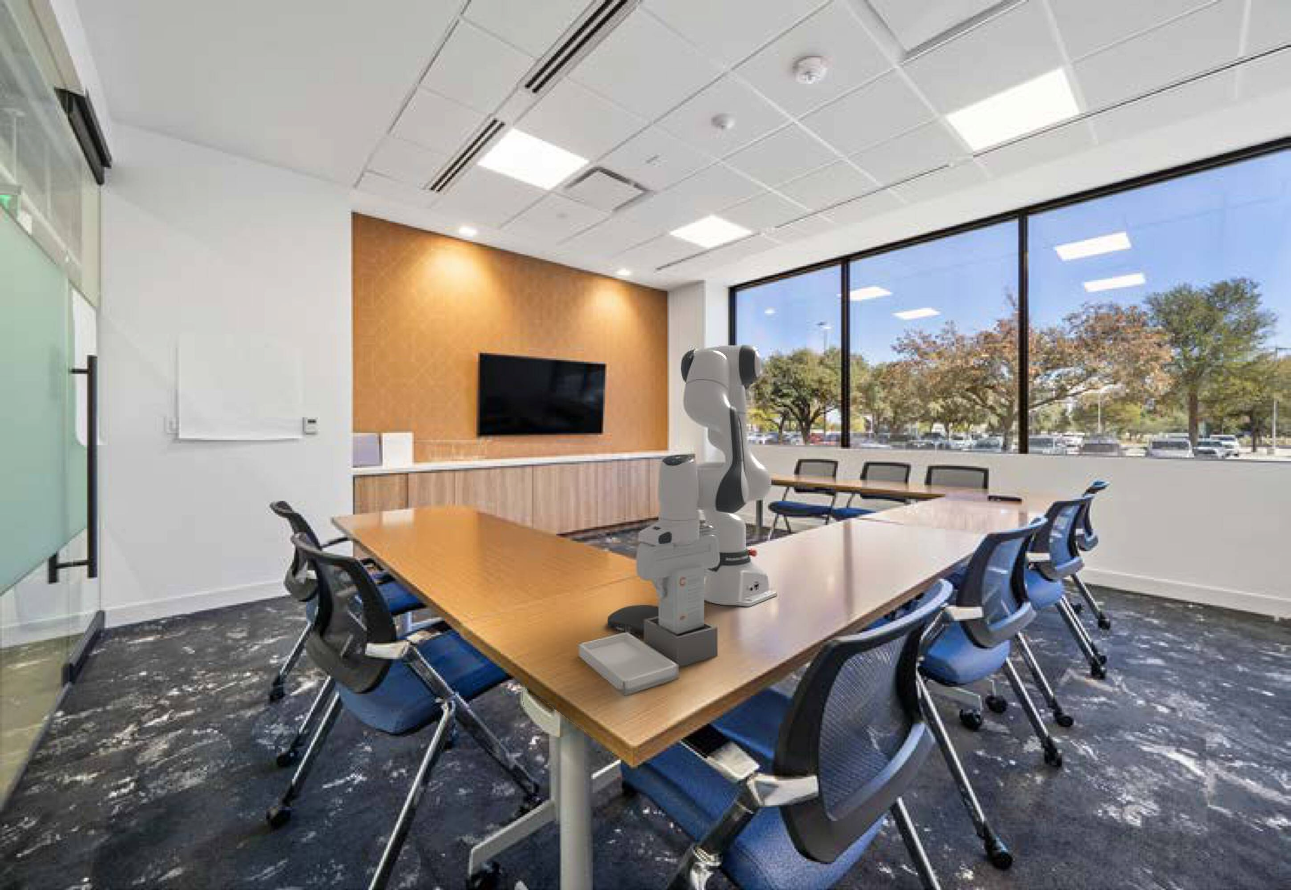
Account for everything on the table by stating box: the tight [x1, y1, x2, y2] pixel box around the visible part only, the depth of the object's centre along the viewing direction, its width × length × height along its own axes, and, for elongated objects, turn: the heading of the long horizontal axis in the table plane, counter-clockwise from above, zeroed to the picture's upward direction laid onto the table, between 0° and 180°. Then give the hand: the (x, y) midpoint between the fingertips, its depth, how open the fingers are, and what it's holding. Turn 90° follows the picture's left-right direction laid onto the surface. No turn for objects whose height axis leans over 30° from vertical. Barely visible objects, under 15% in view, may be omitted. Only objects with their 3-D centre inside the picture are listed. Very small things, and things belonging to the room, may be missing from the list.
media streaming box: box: [607, 604, 659, 639], centre depth 127 cm, size 15×15×3 cm
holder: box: [643, 616, 719, 668], centre depth 111 cm, size 11×13×6 cm
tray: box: [578, 632, 680, 696], centre depth 104 cm, size 12×20×2 cm, turn 32°
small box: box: [658, 566, 705, 634], centre depth 111 cm, size 8×6×13 cm
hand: (680, 593), depth 111 cm, fingers closed on small box, 8 cm apart
